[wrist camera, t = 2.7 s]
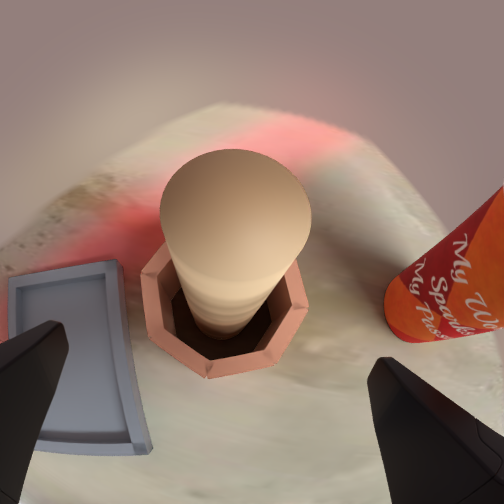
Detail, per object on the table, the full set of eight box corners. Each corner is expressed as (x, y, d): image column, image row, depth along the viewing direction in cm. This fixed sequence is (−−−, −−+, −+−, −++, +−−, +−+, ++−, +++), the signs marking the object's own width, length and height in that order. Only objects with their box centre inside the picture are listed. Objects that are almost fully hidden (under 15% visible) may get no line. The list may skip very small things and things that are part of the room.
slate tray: (153, 448, 14) (148, 454, 13) (37, 445, 12) (27, 449, 11) (122, 267, 18) (116, 258, 17) (19, 284, 16) (8, 277, 15)
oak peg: (254, 333, 18) (330, 265, 6) (198, 344, 17) (168, 293, 6) (242, 280, 19) (287, 144, 8) (188, 289, 18) (156, 158, 7)
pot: (293, 357, 17) (321, 353, 13) (172, 381, 16) (156, 386, 11) (265, 247, 20) (281, 209, 16) (154, 264, 19) (137, 230, 14)
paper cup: (351, 297, 20) (510, 188, 7) (409, 244, 22) (528, 141, 9) (409, 379, 18) (581, 350, 5) (458, 315, 20) (590, 254, 7)
